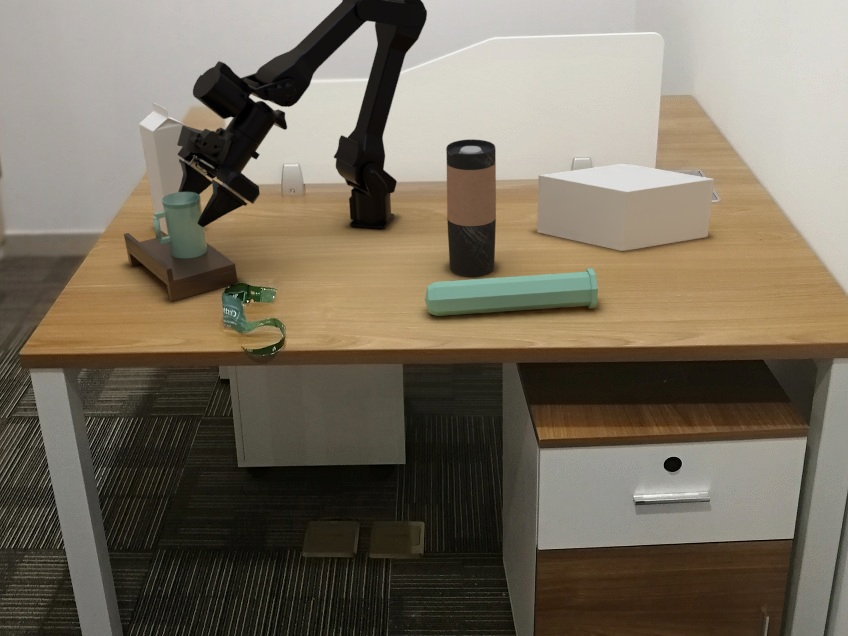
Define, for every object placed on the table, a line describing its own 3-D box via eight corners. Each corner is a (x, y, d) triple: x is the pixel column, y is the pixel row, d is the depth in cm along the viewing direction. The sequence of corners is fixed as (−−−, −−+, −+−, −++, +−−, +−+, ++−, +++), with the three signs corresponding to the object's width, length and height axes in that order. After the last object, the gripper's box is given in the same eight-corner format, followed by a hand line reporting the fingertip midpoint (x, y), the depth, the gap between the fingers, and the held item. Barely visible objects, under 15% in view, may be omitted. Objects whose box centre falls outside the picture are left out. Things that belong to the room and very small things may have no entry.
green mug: (198, 241, 167) (190, 189, 162) (214, 252, 163) (206, 199, 158) (152, 253, 163) (143, 199, 159) (167, 265, 159) (157, 210, 154)
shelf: (191, 248, 173) (187, 218, 171) (238, 283, 161) (233, 251, 158) (129, 264, 168) (123, 233, 165) (172, 301, 155) (166, 269, 152)
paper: (538, 217, 183) (540, 161, 178) (703, 221, 180) (709, 165, 174) (535, 248, 170) (536, 189, 165) (711, 253, 167) (719, 194, 162)
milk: (170, 238, 178) (148, 112, 167) (156, 227, 182) (134, 104, 171) (202, 229, 181) (183, 105, 170) (187, 219, 185) (168, 98, 174)
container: (424, 280, 145) (596, 268, 147) (422, 278, 151) (588, 267, 153) (426, 321, 146) (598, 309, 148) (425, 318, 152) (590, 306, 153)
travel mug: (501, 261, 166) (502, 141, 156) (487, 280, 160) (487, 156, 150) (457, 256, 168) (455, 137, 158) (441, 274, 162) (438, 152, 152)
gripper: (181, 93, 162) (125, 174, 162) (231, 118, 149) (171, 207, 149) (232, 133, 170) (179, 210, 170) (285, 160, 157) (227, 244, 156)
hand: (188, 217), depth 161 cm, fingers open, 9 cm apart
